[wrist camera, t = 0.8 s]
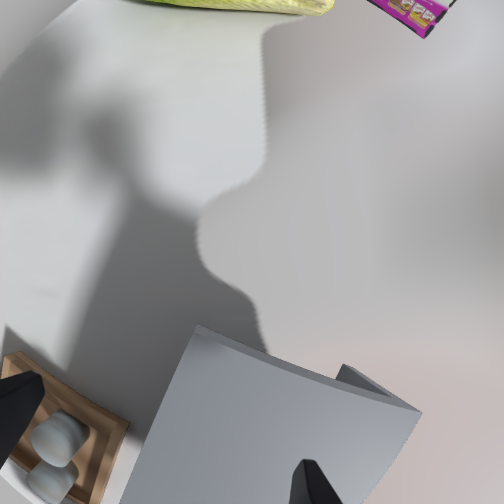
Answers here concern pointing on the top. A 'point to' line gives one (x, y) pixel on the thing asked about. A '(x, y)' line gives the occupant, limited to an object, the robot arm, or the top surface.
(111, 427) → the walnut tray
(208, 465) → the grey piece
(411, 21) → the candy bar box
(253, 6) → the lettuce
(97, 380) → the top surface
